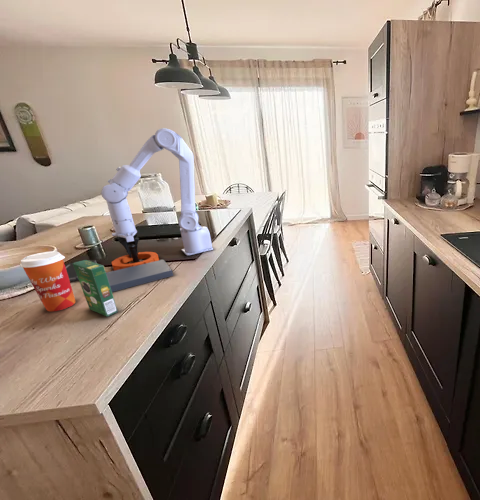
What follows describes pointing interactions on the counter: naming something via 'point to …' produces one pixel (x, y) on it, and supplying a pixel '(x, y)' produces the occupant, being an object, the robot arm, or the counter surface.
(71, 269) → the phone
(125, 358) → the counter surface
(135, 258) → the hook post
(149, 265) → the blue-grey rectangular slab
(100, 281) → the coffee box
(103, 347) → the counter surface
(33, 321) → the counter surface
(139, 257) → the orange ring
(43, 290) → the paper cup
